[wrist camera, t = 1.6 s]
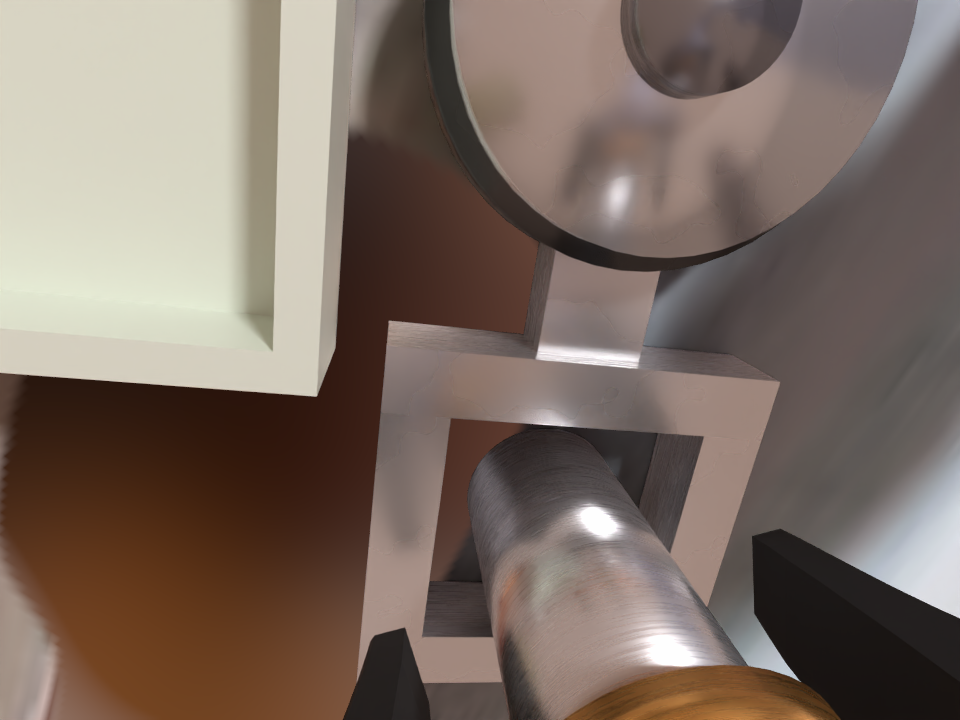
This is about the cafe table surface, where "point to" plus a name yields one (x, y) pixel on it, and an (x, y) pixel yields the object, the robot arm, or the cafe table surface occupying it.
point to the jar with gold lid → (601, 600)
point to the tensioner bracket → (612, 254)
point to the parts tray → (173, 189)
